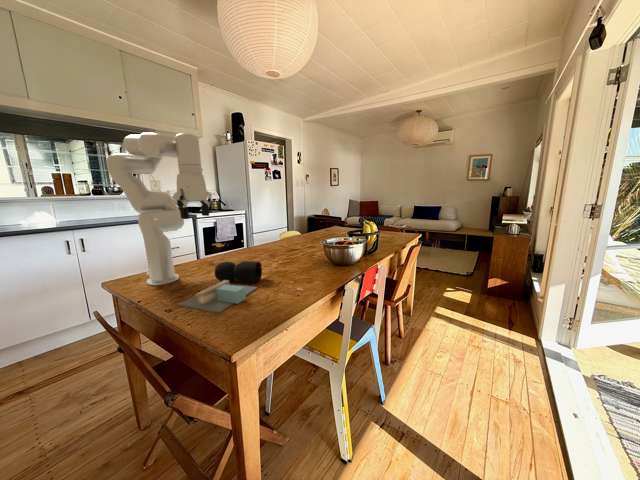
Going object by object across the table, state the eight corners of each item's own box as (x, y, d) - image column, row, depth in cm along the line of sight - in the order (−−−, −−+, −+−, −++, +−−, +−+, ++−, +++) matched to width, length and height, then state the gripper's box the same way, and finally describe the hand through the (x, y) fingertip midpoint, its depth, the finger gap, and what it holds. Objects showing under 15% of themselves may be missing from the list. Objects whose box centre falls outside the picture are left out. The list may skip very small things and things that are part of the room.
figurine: (264, 263, 117) (222, 263, 118) (258, 259, 108) (213, 259, 109) (262, 284, 114) (219, 283, 115) (256, 281, 105) (209, 281, 107)
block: (216, 288, 91) (236, 291, 88) (224, 284, 95) (244, 287, 92) (217, 300, 92) (237, 303, 89) (226, 295, 96) (245, 298, 93)
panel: (178, 305, 90) (178, 304, 90) (222, 283, 110) (222, 282, 110) (219, 313, 83) (219, 311, 83) (257, 288, 104) (257, 287, 103)
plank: (197, 304, 89) (196, 293, 88) (225, 289, 102) (224, 280, 101) (203, 305, 88) (201, 294, 87) (230, 290, 101) (229, 280, 100)
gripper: (201, 172, 102) (205, 214, 105) (161, 169, 86) (168, 219, 89) (215, 171, 99) (219, 214, 103) (177, 168, 83) (184, 220, 87)
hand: (195, 216), depth 96 cm, fingers open, 9 cm apart
